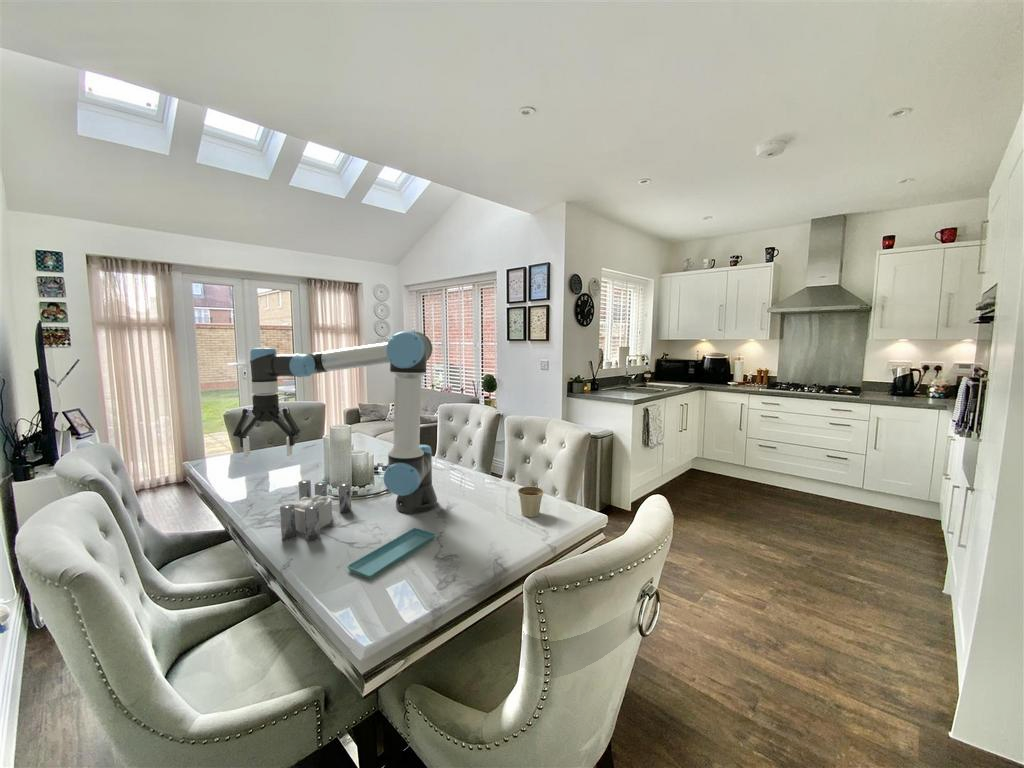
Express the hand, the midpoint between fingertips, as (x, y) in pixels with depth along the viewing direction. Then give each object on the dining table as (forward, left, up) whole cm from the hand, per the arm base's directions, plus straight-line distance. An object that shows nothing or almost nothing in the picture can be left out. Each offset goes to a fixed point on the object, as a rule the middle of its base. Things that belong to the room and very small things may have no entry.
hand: (268, 455), depth 141 cm
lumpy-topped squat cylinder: (-16, +2, -23) cm, 28 cm away
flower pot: (-89, -12, -23) cm, 93 cm away
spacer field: (-14, +1, -22) cm, 26 cm away
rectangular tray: (-51, +20, -23) cm, 59 cm away
